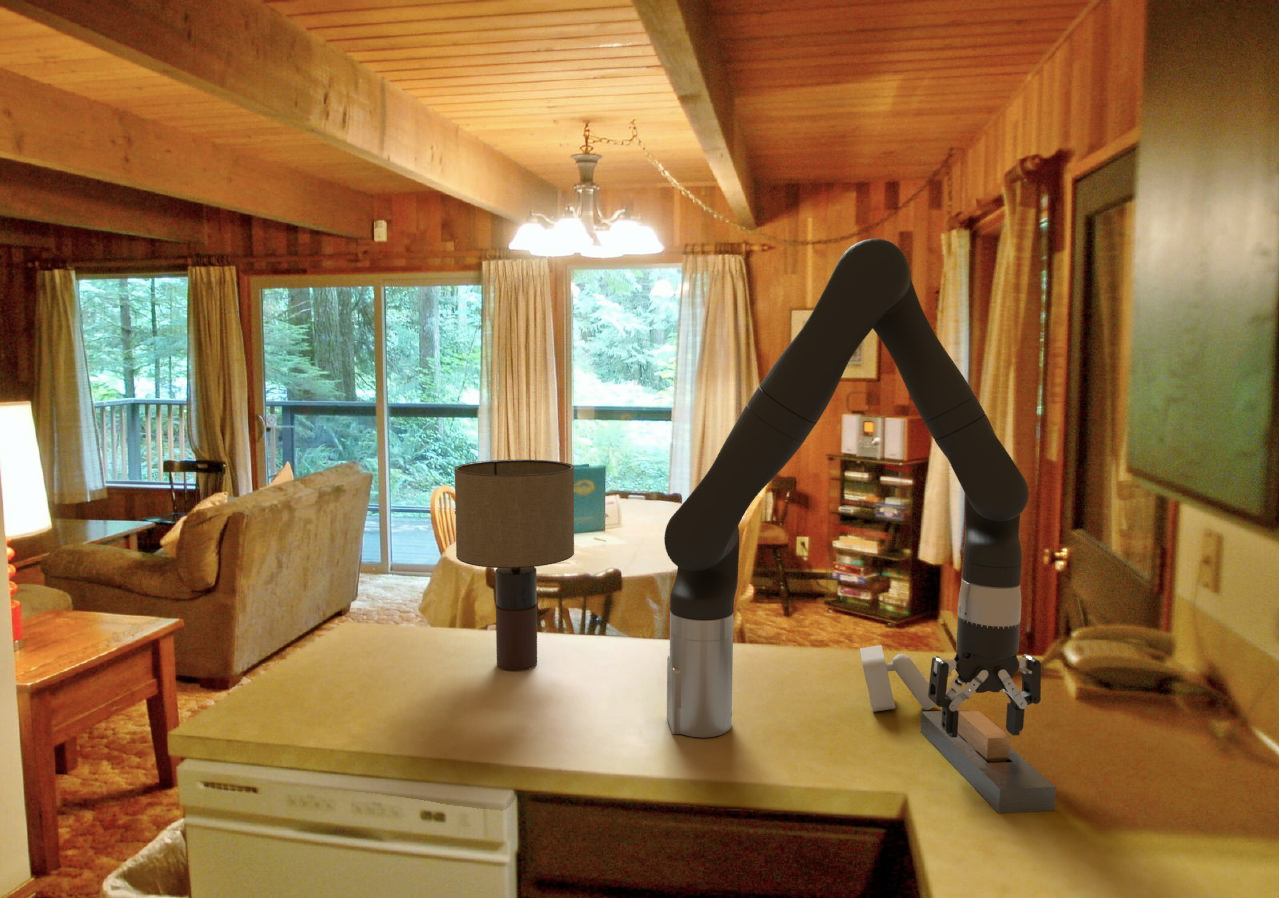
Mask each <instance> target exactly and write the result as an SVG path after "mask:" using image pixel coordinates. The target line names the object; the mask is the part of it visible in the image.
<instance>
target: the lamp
mask: <svg viewBox="0 0 1279 898" xmlns="http://www.w3.org/2000/svg"><path fill="white" fill-rule="evenodd" d="M574 473H575V465H573V464H571V463H568V462H564V461H555V460H545V459H498V460H496V459H495V460H484V461H483V460H481V461H474V462H467V463H462V464H459V465H456V466H455V467H454V505H455V507H454V509H455V510H454V511H455V552H456V555H455V556H456V557H455V558H456V559H457V560H458V561H459V562H462V563H464V564H467V565H472V566H476V567H483V568H491V569H492V568H493V569H495V576H494V577H495V624H496V625H495V637H496V638H495V639H496V640H495V641H496V643H495V644H496V666H497V667H498V668H499V669H501V670H503V671H507V672H521V671H527V670H530V669H533V668H534V667H536V666H537V663H538V608H537V607H538V605H537V604H538V603H537V601H538V599H537V596H538V595H537V594H538V593H537V589H538V588H537V585H538V584H537V580H538V579H537V568H536V567H543V566H549V565H554V564H558V563H561V562H564V561H567V560H569V559H571V558H572V557H573V556H574V555H575V482H574V481H575V476H574V475H575V474H574Z"/></svg>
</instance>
